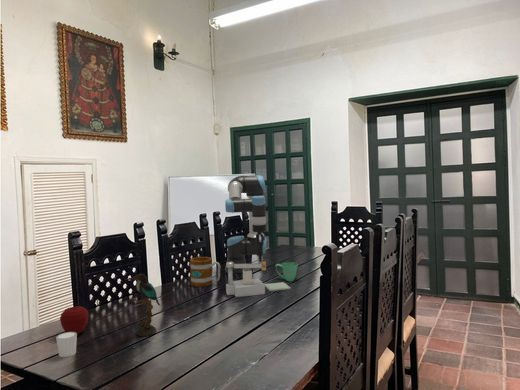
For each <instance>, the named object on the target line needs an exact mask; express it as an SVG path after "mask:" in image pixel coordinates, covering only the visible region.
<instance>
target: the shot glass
mask: <svg viewBox="0 0 520 390" xmlns="http://www.w3.org/2000/svg"><path fill="white" fill-rule="evenodd" d="M77 336H78V334H77V333H75V332H66V333H65V332H63V333H60V334H58V335H56V337H55V338H56V345H57V352H58V356H59V357H60V358H69V357H72V356H74V355H75V354H76V353H77V341H78V340H77Z"/></svg>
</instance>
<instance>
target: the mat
mask: <svg viewBox="0 0 520 390" xmlns="http://www.w3.org/2000/svg"><path fill="white" fill-rule="evenodd" d="M263 284H264V285H265V289H267V290H268V291H269V292H275V291H276V292H277V291H283V290H284V291H286V290H291V287H290V286H289V285H288V284H287V283H285V282H283V281H282V282H273V283H263Z"/></svg>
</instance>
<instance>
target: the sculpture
mask: <svg viewBox="0 0 520 390" xmlns="http://www.w3.org/2000/svg"><path fill="white" fill-rule="evenodd" d="M124 280H125V281H136V283H135V284H136V285H135V287H136V290H137V291H138V292H139V293H140V294H142V295H143V297H142V299H140V300H137V298H135V297H132V302H134V301H135V302H136V303H144V305H146V306H147V309H146V310H145V315H146V318H145V317H143V320H141V317H142V316H143V313H141V310H138V311H137V312H136V315H137V317H136V319H137V325H138V326H139V328H138V329H136V332H135V334H136V335H137V336H138V337H142V336H143V337H150V336H154V335H155V334H156V333H157V328H156V327H155V326H154V325H152V324H151V323H152V318H153V315H154V314H153V313H152V309H154V305H153V304H152V301H155V302H156V304H157V305H158V306H161V304H160V301H159V299H158V296H157V291H156V289H155V287H154V286H153V284H152V283H150V282H149V279H148V278H147V275H145V274H144V273H139V274H137V275H135V276H132V277H128V278H125V279H124ZM139 313H141V314H140V316H139Z"/></svg>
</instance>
